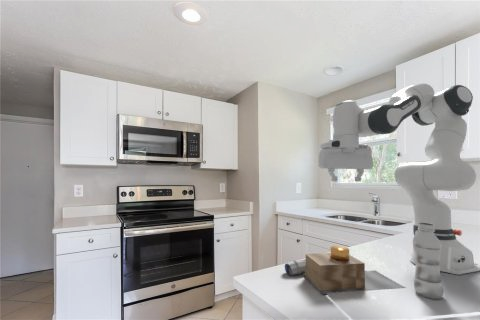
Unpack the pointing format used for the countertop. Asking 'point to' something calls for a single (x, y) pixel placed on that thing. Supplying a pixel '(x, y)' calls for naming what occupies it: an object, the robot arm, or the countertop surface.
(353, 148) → the robot arm
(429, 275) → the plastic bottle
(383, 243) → the countertop surface
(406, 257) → the countertop surface
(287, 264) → the white handheld device
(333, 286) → the hitch block
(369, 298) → the countertop surface
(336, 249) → the brass knob
